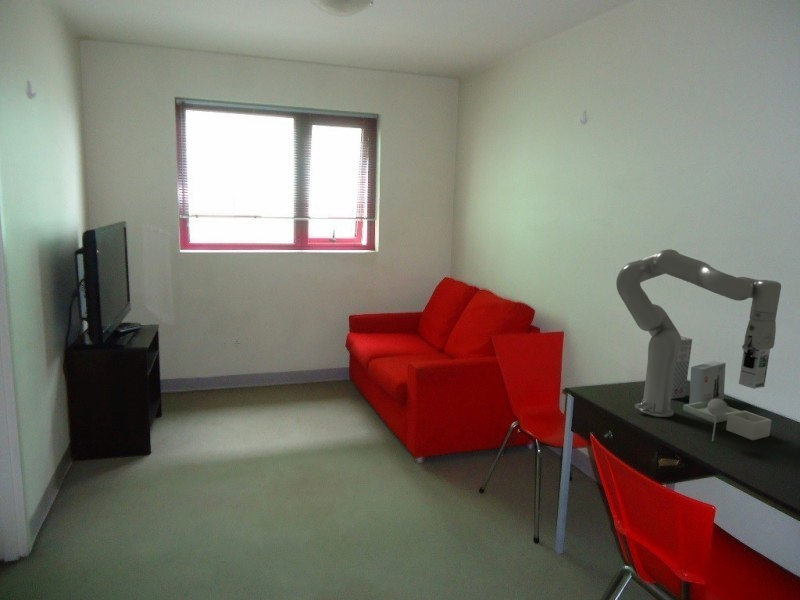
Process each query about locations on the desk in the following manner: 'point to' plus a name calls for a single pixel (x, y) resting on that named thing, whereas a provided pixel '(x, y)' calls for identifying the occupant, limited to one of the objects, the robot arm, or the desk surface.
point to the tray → (706, 411)
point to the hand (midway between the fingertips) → (754, 366)
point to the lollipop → (717, 410)
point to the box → (681, 368)
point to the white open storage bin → (748, 425)
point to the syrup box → (755, 370)
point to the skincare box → (707, 382)
